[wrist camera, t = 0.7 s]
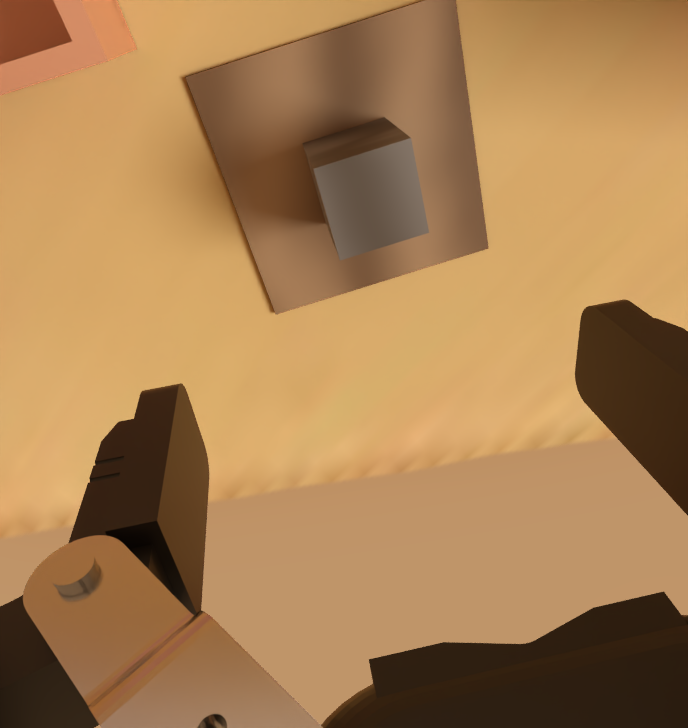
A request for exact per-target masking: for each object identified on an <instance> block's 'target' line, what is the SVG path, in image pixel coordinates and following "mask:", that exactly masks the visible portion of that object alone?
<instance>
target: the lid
mask: <svg viewBox="0 0 688 728" xmlns="http://www.w3.org/2000/svg"><path fill="white" fill-rule="evenodd" d="M185 78H186V80H187V83H188V85H189V88H190V91H191V93H192V96H193V99H194V101H195V104H196V106H197V109H198V112H199V114H200V117H201V120H202V122H203V125H204V127H205V130H206V133H207V135H208V138H209V140H210V143H211V146H212V148H213V151H214V154H215V156H216V159H217V161H218V164H219V167H220V169H221V172H222V175H223V177H224V180H225V182H226V185H227V188H228V190H229V193H230V196H231V198H232V201H233V203H234V206H235V209H236V211H237V214H238V217H239V219H240V222H241V224H242V227H243V230H244V232H245V235H246V238H247V240H248V243H249V245H250V248H251V251H252V253H253V256H254V258H255V261H256V264H257V266H258V269H259V272H260V274H261V277H262V279H263V282H264V285H265V287H266V290H267V293H268V295H269V298H270V300H271V303H272V306H273V308H274V311H275V314H279V313H283V312H286V311H289V310H292V309H295V308H299V307H302V306H305V305H308V304H311V303H315V302H318V301H321V300H324V299H327V298H331V297H334V296H337V295H340V294H343V293H347V292H350V291H353V290H356V289H360V288H363V287H366V286H369V285H372V284H376V283H379V282H382V281H385V280H388V279H392V278H395V277H398V276H401V275H404V274H408V273H411V272H414V271H417V270H420V269H424V268H427V267H430V266H433V265H436V264H440V263H443V262H446V261H449V260H453V259H456V258H459V257H462V256H465V255H469V254H472V253H475V252H478V251H481V250H485V249H488V241H487V233H486V226H485V218H484V211H483V203H482V196H481V188H480V181H479V173H478V166H477V158H476V150H475V143H474V135H473V128H472V120H471V113H470V105H469V98H468V90H467V83H466V75H465V68H464V60H463V52H462V45H461V37H460V30H459V22H458V15H457V7H456V0H424V1H420V2H417V3H414V4H411V5H408V6H405V7H402V8H399V9H395V10H392V11H389V12H386V13H383V14H380V15H377V16H374V17H371V18H367V19H364V20H361V21H358V22H355V23H352V24H349V25H346V26H343V27H339V28H336V29H333V30H330V31H327V32H324V33H321V34H318V35H314V36H311V37H308V38H305V39H302V40H299V41H296V42H293V43H290V44H286V45H283V46H280V47H277V48H274V49H271V50H268V51H265V52H261V53H258V54H255V55H252V56H249V57H246V58H243V59H240V60H237V61H233V62H230V63H227V64H224V65H221V66H218V67H215V68H212V69H208V70H205V71H202V72H199V73H196V74H193V75H190V76H187V77H185Z"/></svg>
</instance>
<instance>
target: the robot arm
mask: <svg viewBox="0 0 688 728" xmlns="http://www.w3.org/2000/svg"><path fill="white" fill-rule="evenodd" d="M575 379H576V385H577V389H578V391H579V394H580V396H581V398H582V399H583V401H584V402H585V403H586V404H587V406H588V407H589V408H590V409H591V410H592V411H593V412H594V413H595V414H596V415H597V416H598V418H599V419H600V420H601V421H602V422H603V423H604V424H605V425H606V426H607V427H608V429H609V430H610V431H611V432H612V433H613V434H614V435H615V436H616V437H617V438H618V440H619V441H620V442H621V443H622V444H623V445H624V446H625V447H626V448H627V449H628V450H629V452H630V453H631V454H632V455H633V456H634V457H635V458H636V459H637V460H638V461H639V463H640V464H641V465H642V466H643V467H644V468H645V469H646V470H647V471H648V472H649V474H650V475H651V476H652V477H653V478H654V479H655V480H656V481H657V482H658V483H659V484H660V486H661V487H662V488H663V489H664V490H665V491H666V492H667V493H668V494H669V495H670V496H671V497H672V499H673V500H674V501H675V502H676V503H677V504H678V505H679V506H680V508H681V509H682V510H683V511H684V512H685V513H686V514H687V515H688V331H686V330H685V329H683V328H681V327H678V326H676V325H673V324H670V323H667V322H665V321H662V320H659V319H656V318H653V317H651V316H650V315H648V314H647V313H646V312H644V311H643V310H641V309H640V308H639V307H637V306H636V305H634V304H633V303H632V302H630V301H628V300H619V301H614V302H609V303H603V304H598V305H593V306H588V307H586V308H585V309H584V311H583V313H582V316H581V321H580V331H579V340H578V350H577V359H576V369H575ZM95 464H96V465H95V466H93V469H92V472H91V475H90V478H89V479H90V483H88V485H87V488H86V491H85V494H84V497H83V500H82V503H81V506H80V509H79V512H78V516H77V519H76V522H75V525H74V528H73V531H72V534H71V537H70V540H69V543H68V544H66V545H64V546H63V547H61V548H59V549H58V550H56V551H55V552H53V553H52V554H51V555H49V556H48V557H47V558H46V559H45V560H44V561H43V562H42V563H41V564H40V565H39V566H38V567H37V568H36V569H35V571H34V572H33V574H32V575H31V576H30V578H29V580H28V582H27V584H26V586H25V589H24V594H23V595H22V596H21V597H19V598H17V599H15V600H13V601H11V602H9V603H7V604H5V605H3V606H0V728H94V727H96V726H98V725H100V726H101V728H688V615H681V614H680V613H679V611H678V610H677V609H676V607H675V606H674V605H673V604H672V602H671V601H670V599H669V598H668V597H667V596H666V594H665V593H664V592H660V593H656V594H651V595H647V596H643V597H639V598H634V599H630V600H626V601H621V602H617V603H613V604H608V605H604V606H599V607H595V608H593V609H591V610H589V611H587V612H585V613H583V614H582V615H580V616H578V617H576V618H574V619H573V620H571V621H569V622H567V623H565V624H564V625H562V626H560V627H558V628H556V629H555V630H553V631H551V632H549V633H548V634H546V635H544V636H542V637H540V638H539V639H537V640H535V641H533V642H531V643H526V644H491V643H490V644H489V643H446V642H443V643H439V644H435V645H430V646H426V647H422V648H417V649H413V650H408V651H404V652H400V653H396V654H391V655H387V656H382V657H378V658H374V659H369V663H370V668H371V674H372V679H373V684H372V685H370V686H368V687H367V688H365V689H363V690H362V691H360V692H358V693H356V694H355V695H354V696H352V697H351V698H350V699H348V700H347V701H345V702H344V703H343V704H342V705H341V706H339V707H338V708H337V709H336V710H335V711H334V712H333V713H332V714H331V715H330V716H329V717H328V718H327V719H326V720H325V721H324V723H323V724H322V725H320V724H319V723H318V722H317V721H316V720H315V719H314V718H313V717H312V716H311V715H310V714H309V713H308V712H307V711H306V710H305V709H304V708H303V707H302V706H301V705H300V704H299V703H298V702H297V701H296V700H295V699H294V698H293V697H292V696H291V695H290V694H289V693H288V692H287V691H286V690H285V689H284V688H283V687H282V686H281V685H279V684H278V682H277V681H276V680H274V678H273V677H272V676H271V675H270V674H269V673H268V672H267V671H266V670H264V668H263V667H261V665H259V663H258V662H256V661H255V659H253V658H252V656H251V655H250V654H249V653H248V652H247V651H245V650H244V649H243V648H242V647H241V646H240V645H239V644H238V643H237V642H236V641H235V640H234V639H233V638H232V637H231V636H230V635H229V634H228V633H227V632H226V631H225V630H224V629H223V628H222V627H221V626H220V625H219V624H218V623H217V622H216V621H215V620H214V619H213V618H212V617H211V616H210V615H208V614H207V613H205V612H203V611H201V602H202V585H203V569H204V552H205V537H206V536H205V535H206V520H207V505H208V489H209V465H208V458H207V453H206V449H205V445H204V442H203V439H202V436H201V433H200V430H199V427H198V424H197V421H196V418H195V415H194V412H193V409H192V406H191V403H190V400H189V397H188V394H187V391H186V389H185V387H184V386H183V384H176V385H171V386H165V387H160V388H155V389H150V390H145V391H142V392H141V394H140V398H139V402H138V406H137V409H136V413H135V417H134V419H131V420H126V421H121V422H118V423H117V424H116V425H115V426H114V428H113V429H112V430H111V431H110V432H109V433H108V435H107V436H106V437H105V438H104V439H103V440H102V441H101V444H100V448H99V451H98V454H97V457H96V460H95Z"/></svg>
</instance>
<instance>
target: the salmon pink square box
mask: <svg viewBox="0 0 688 728" xmlns="http://www.w3.org/2000/svg"><path fill="white" fill-rule="evenodd" d="M136 49H137V48H136V45H135V43H134V41H133V38H132V36H131V33H130V31H129V29H128V26H127V24H126V21H125V19H124V16H123V14H122V12H121V9H120V7H119V4H118V2H117V0H0V95H3V94H6V93H9V92H13V91H16V90H19V89H22V88H25V87H28V86H31V85H34V84H37V83H41V82H44V81H47V80H50V79H53V78H56V77H59V76H62V75H65V74H69V73H72V72H75V71H78V70H81V69H84V68H87V67H90V66H94V65H97V64H100V63H103V62H106V61H109V60H111V59H114V58H116V57H119V56H121V55H124V54H126V53H128V52H131V51H133V50H136Z"/></svg>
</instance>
